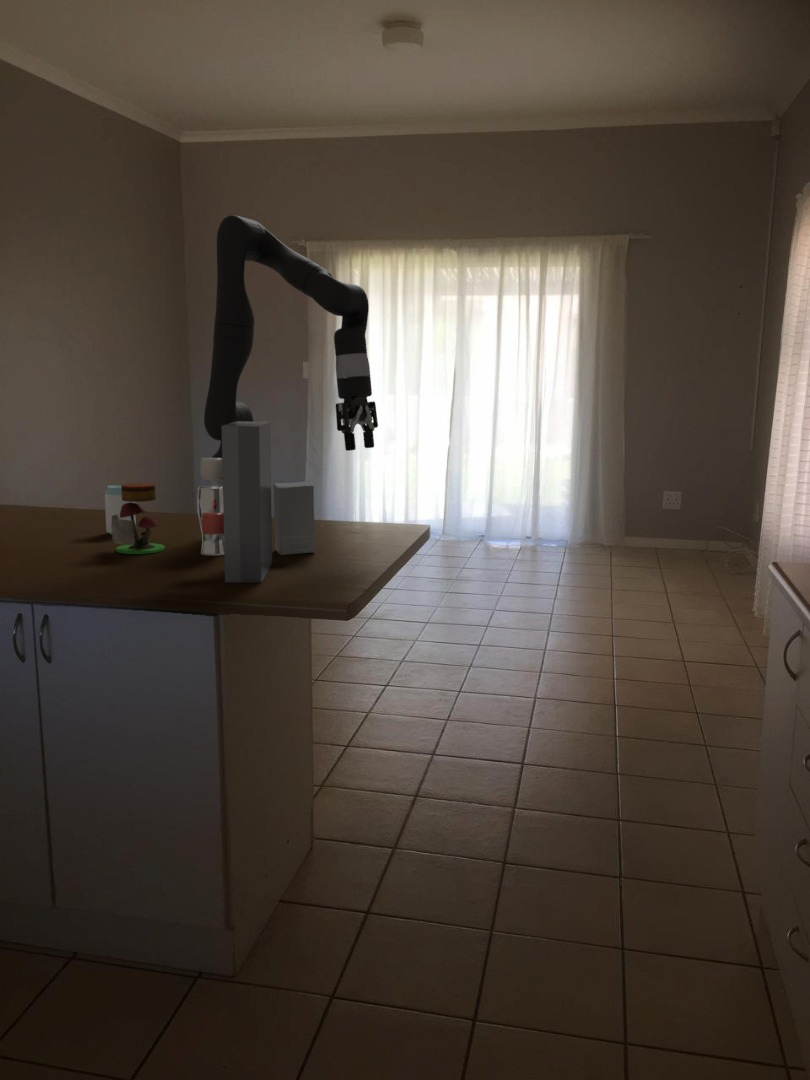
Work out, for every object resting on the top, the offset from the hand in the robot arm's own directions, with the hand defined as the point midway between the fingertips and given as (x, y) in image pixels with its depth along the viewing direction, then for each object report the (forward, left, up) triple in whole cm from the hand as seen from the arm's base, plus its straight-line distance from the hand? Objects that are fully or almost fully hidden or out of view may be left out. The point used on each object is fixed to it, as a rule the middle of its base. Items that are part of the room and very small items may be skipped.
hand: (360, 449), depth 198 cm
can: (-58, -27, -24) cm, 68 cm away
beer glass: (-21, -25, -24) cm, 40 cm away
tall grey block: (0, -31, -24) cm, 39 cm away
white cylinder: (-4, -36, -5) cm, 36 cm away
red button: (-4, -36, -16) cm, 39 cm away
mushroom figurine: (-36, -35, -24) cm, 56 cm away
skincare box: (-10, -11, -24) cm, 28 cm away
